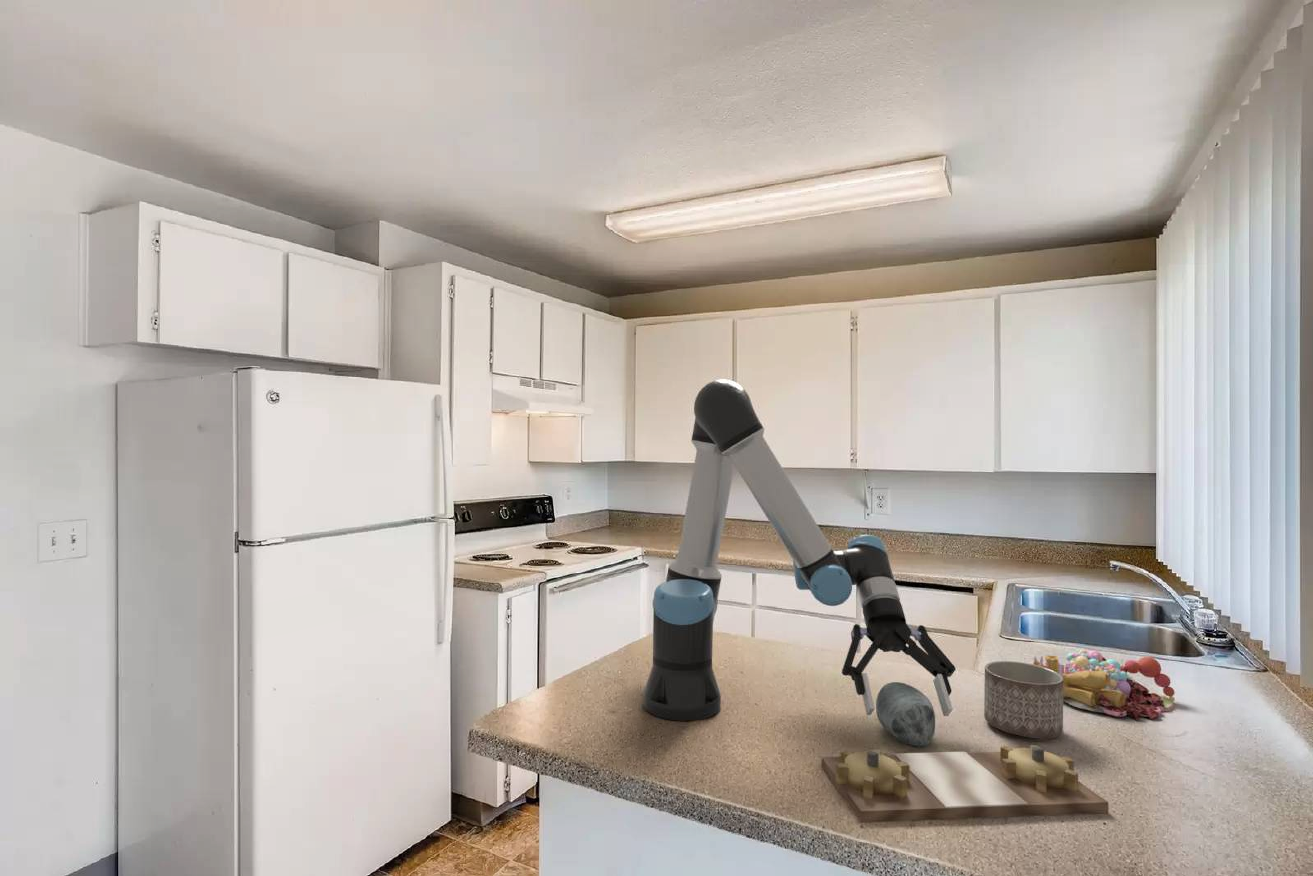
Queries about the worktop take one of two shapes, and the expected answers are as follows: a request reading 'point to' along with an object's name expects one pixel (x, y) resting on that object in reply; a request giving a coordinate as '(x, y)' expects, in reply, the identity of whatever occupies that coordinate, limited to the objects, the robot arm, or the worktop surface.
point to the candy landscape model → (1111, 684)
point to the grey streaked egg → (906, 713)
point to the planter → (1023, 699)
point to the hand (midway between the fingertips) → (909, 712)
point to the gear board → (960, 785)
